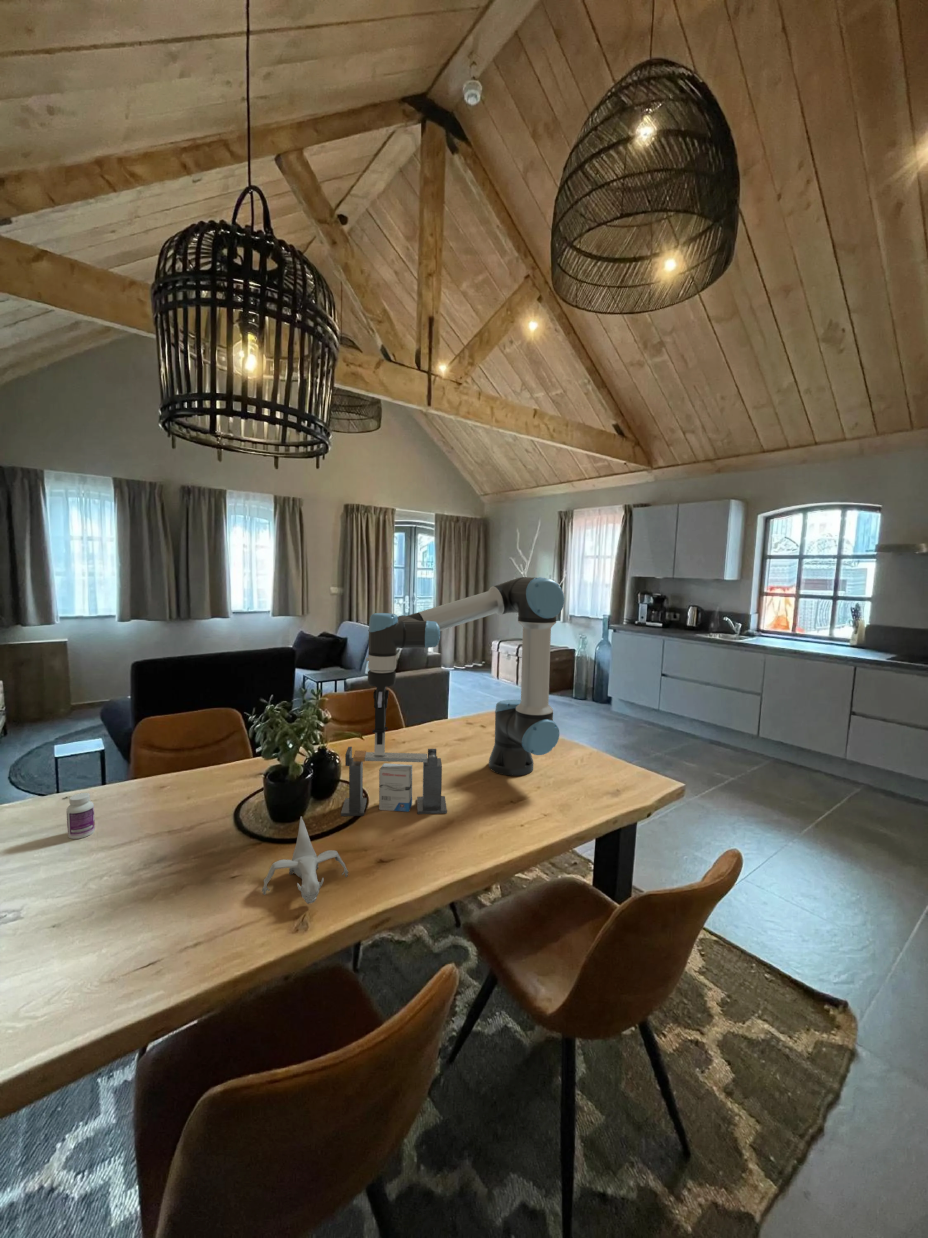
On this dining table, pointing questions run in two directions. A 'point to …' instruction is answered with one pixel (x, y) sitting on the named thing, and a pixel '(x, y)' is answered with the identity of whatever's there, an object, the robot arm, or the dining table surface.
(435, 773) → the hinge post
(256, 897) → the dining table surface
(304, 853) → the dragon figurine
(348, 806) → the post
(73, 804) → the pill bottle
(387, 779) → the ink box
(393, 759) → the white gate latch bar
